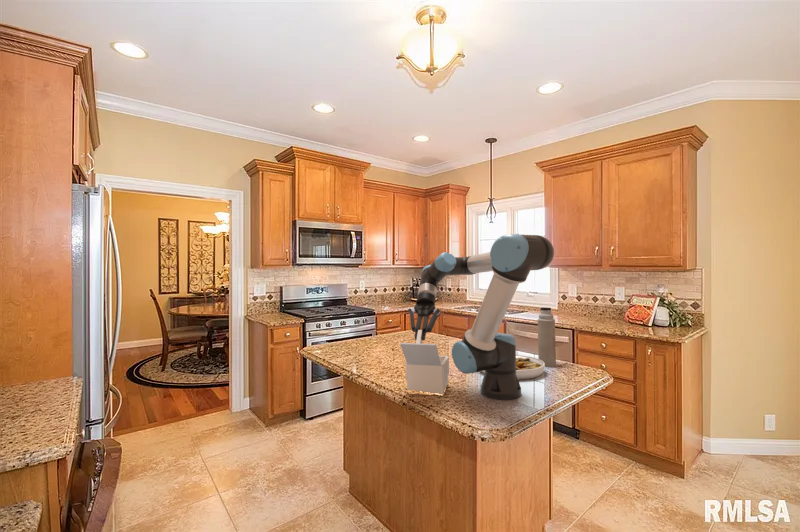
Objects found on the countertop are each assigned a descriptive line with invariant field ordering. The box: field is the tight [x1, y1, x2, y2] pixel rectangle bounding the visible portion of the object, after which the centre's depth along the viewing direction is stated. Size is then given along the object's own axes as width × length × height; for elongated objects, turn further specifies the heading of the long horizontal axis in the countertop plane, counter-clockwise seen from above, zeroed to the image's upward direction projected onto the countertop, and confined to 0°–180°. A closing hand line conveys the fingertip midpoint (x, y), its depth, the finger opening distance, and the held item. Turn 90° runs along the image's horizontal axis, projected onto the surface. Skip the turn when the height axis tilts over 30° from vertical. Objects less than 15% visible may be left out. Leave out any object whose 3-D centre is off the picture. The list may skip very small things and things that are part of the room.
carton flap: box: [399, 342, 441, 366], centre depth 142 cm, size 13×13×1 cm
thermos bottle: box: [537, 307, 557, 368], centre depth 186 cm, size 8×8×28 cm
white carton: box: [404, 355, 450, 394], centre depth 154 cm, size 15×15×12 cm
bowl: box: [481, 354, 546, 381], centre depth 176 cm, size 30×30×8 cm
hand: (418, 346), depth 139 cm, fingers closed
